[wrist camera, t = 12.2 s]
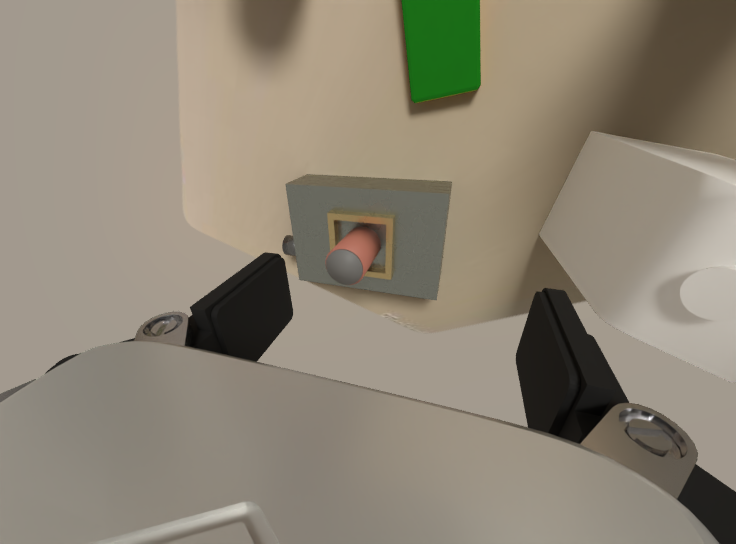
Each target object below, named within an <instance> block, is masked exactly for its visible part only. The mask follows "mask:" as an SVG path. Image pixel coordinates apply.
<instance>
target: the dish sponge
mask: <svg viewBox="0 0 736 544" xmlns="http://www.w3.org/2000/svg"><path fill="white" fill-rule="evenodd" d="M402 10H403V20H404V30H405V40H406V50H407V60H408V70H409V80H410V90H411V100H412V101H413V102H414V103H420V102H425V101H430V100H434V99H439V98H444V97H448V96H453V95H458V94H462V93H467V92H472V91H476V90H477V89H478V88H479V87H480V85H481V72H480V0H402Z"/></svg>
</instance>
